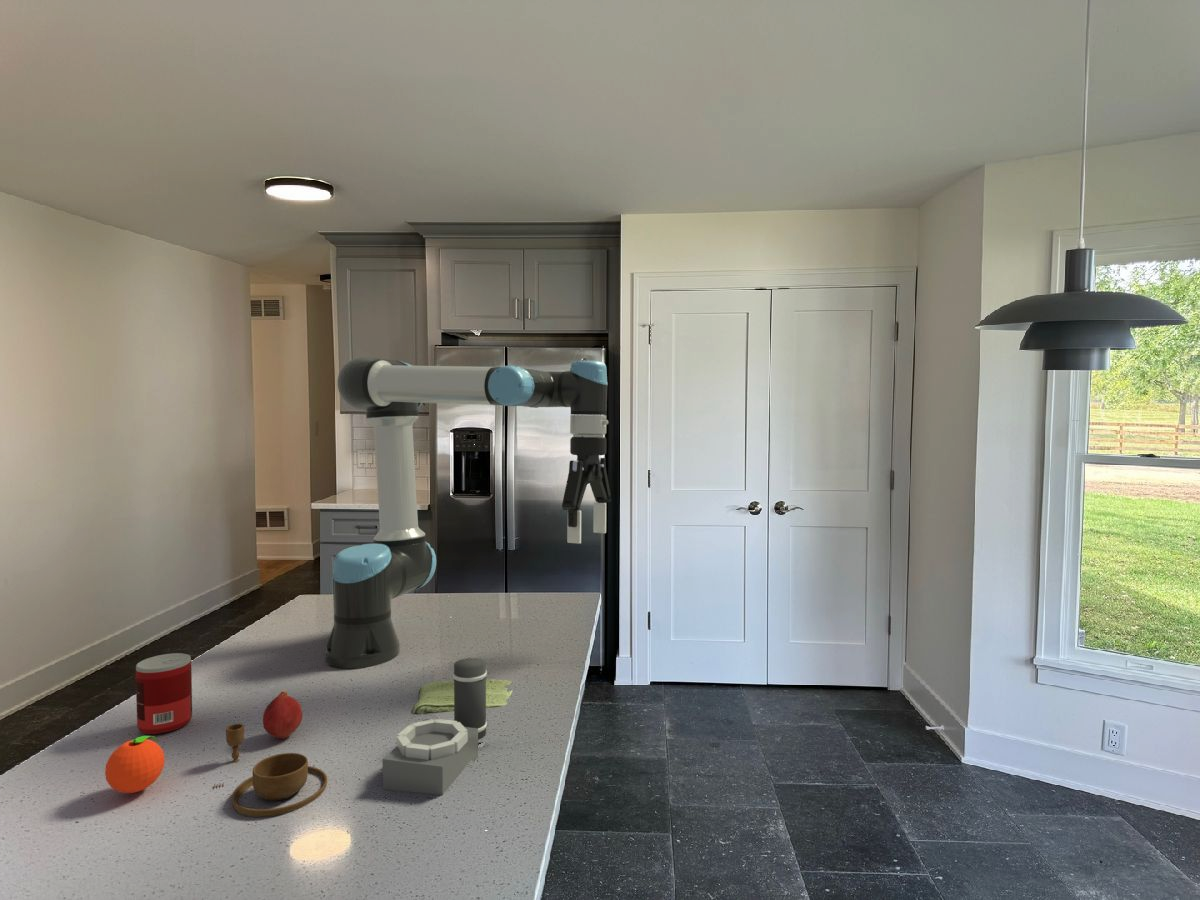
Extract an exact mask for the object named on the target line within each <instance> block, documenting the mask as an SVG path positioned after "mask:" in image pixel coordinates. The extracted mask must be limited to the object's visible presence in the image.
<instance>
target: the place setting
mask: <svg viewBox="0 0 1200 900" xmlns="http://www.w3.org/2000/svg"><path fill="white" fill-rule="evenodd" d="M244 738H245V725H244V724H243V723H234V724H230V725H228V726H227V727H226V728H225V740H226V744H227V745H228V746H230V747H232V748H231V749H232V751H231V752H232V753H231V758H232V760H231V763H232V764H235V763H238V762H240V759H239V757H240V752H239V746H240V745H241V744H242V743H243V742H244ZM308 764H309V761H308V757H306V756H305V755H303V754H302V753H297V752H296V753H295V752H285V753H279V754H274V755H271V756H268V757H266V758H263V759H261V760H260V761H258V762H257V763H256V764H255V765H253V768H252V771H251V772H252V776H250V777H248V778H247V779H246V780H244V781H242V782H241V783H240V784H239V785H237V787H236V788H235V789H234V791H233V792H232V794H231V801H232V806H233V808H234V809H235V810H236V812H238V813H239V814H241V815H242V816H247V817H251V818H269V817H274V816H275V817H276V816H280V815H285V814H288V813H291V812H294V811H297V810H299V809H302V808H303V807H306V806H307V805H309V804H310V803H312V802H313V801H316V799H318V798H319V797H320V796H321V795H322V794H323V793H324V791H326V788H327V784H328V776H327V774H326V773H325V771H323V770H322V769H321V768H318V767H315V766H310V765H308ZM309 773H312V774H316V775H317V776H319V777H321V778H322V780H323V784H322V786H321V787H320V788H319V789H318V790H317V791H316V792H314V793H313V794H312V795H310V796H309V797H307V798H305V799H302V800H301V801H298V802H295V803H292V804H289V805H285V806H281V807H276V808H267V809H266V808H265V809H259V808H258V809H257V808H248V807H247V806H246V807H245V806H242V805H241V804H239V801H240V799H239V798H241V797H242V796H243V795H244V793H246V791H248V790H249V789H250V788H251V786H252V787H253V790H254V792H255V794H256V795H257V796H259V798H261V799H265V800H267V801H271V802H277V801H283V800H286V799H288V798H290V797H292V796H293V795H295V794H296V793H298V792H299V791H300V790H301V789H302V788H303V787H304V786H305V785H306V782H307V780H308V776H309ZM218 784H219V785H218ZM224 784H225V783H224V782H223V783H221V782H220V783H217V785H216V784H215V783H214V784H213V788H212V790H217V789H218V788H219V789H220V788H221V787H222V788H224V786H225V785H224ZM215 785H216V786H215Z"/></svg>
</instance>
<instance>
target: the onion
mask: <svg viewBox="0 0 1200 900" xmlns="http://www.w3.org/2000/svg"><path fill="white" fill-rule="evenodd" d="M262 714H263V715H262V725H263V728H264V731H266V733H267V734H269V735H271V736H272V737H275V738H277V739H279V740H285V739H287V738H289V736H291V735H292V734H293V733H294V732H296V730H297V729H298V728H299V726H300V725H301V723H302V721H303V711H302V707H301V704H300V702H298V700H296V699H295V698H294V697H293V696H290V695H288V691H287V690H286V689H284V690H281V691H280V693H278V695H277V696H276V697H274V698H273V699H272V700H271V701H270V702H269V703H268V704H267V706H266V707H265V709H264V711H263V713H262Z"/></svg>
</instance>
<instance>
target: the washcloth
mask: <svg viewBox="0 0 1200 900" xmlns="http://www.w3.org/2000/svg"><path fill="white" fill-rule="evenodd" d="M511 684H513V682H511V680H506V679H502V680H501V679H494V678H493V679H492V678H491V679H490V678H489V679H487V678H486V709H493V708H500V707H504V706H507V705H508V702H507V700H509V698H510V696H511V695H512V693H513V690H509V691H508V687H506V686H509V685H511ZM418 699H419V700H418V701H417V702H416V704H415V705H414V708H413V710H412V713H413V714H417V715H424V714H427V713H429V714H430V713H442V712H454V680H453V681H449V680H447V681H445V680H444V681H431V683H426V684H424V685H422V686H421V687H420V690H419V695H418Z"/></svg>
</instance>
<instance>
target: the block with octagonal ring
mask: <svg viewBox="0 0 1200 900" xmlns="http://www.w3.org/2000/svg"><path fill="white" fill-rule="evenodd" d="M478 743H479V740H478V728H470V727H464V726H463V725H462V724H461V723H460V722H457V721H454V720H453V719H443V718H435V719H434V718H425V719H423V720H422V721H418V722H414V723H411V724H409V725H407V726H406V727H405V728H404V729H402V731H400V732H399V733H398V734H397V735H396V746H395V747H394V748H393V749H392V750H391V751H390V752H389V753H387V754H386V755H385V756H384V757H383V758H382V790H391V791H392V790H393V791H402V792H409V793H410V792H412V793H419V794H420V793H421V794H429V795H438V796H443V795H444V794H445V793H446V792H447V791H448V789H449V788H450V787H451V785H453V783H454V782H455V781H456V780H457V779H458V777H459V776H460V775H461V773H462V772H463V771H464V770H465V769H466V768H467V766H468V765H469V764H470V763H471V761H472V762H473V763H474V762H475V760H476V759H477V758H478V759H479V749H478Z"/></svg>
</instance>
